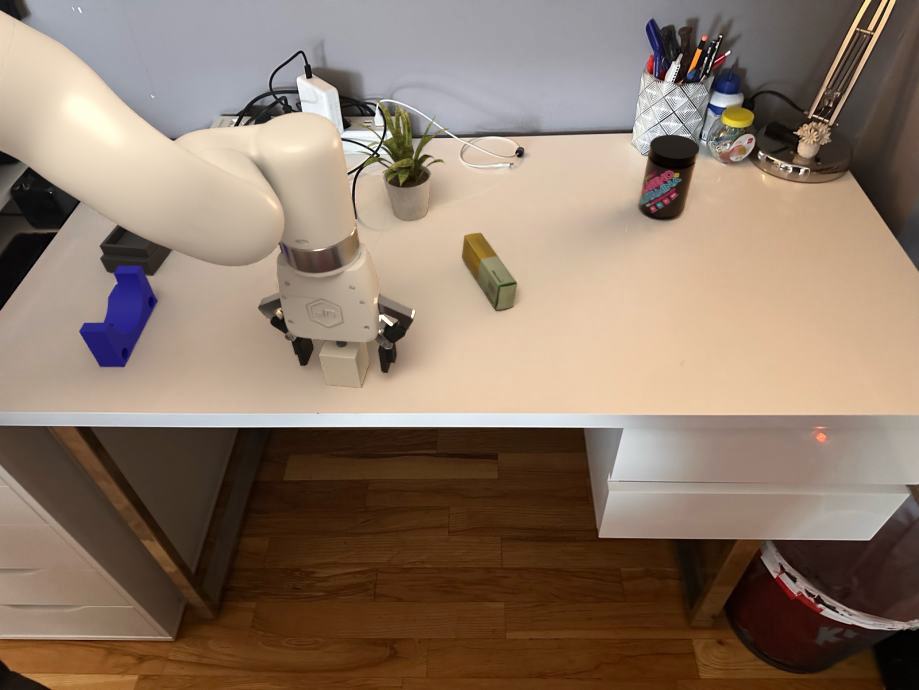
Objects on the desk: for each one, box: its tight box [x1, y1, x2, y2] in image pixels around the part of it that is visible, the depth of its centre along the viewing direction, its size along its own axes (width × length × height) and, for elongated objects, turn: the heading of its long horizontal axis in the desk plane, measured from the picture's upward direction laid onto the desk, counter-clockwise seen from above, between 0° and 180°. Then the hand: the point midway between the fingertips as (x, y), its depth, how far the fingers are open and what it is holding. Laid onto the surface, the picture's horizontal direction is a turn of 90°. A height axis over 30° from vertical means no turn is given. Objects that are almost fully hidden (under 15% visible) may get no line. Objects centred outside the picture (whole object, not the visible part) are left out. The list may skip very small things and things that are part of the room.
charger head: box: [318, 340, 370, 389], centre depth 78 cm, size 4×4×6 cm
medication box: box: [461, 232, 518, 312], centre depth 89 cm, size 12×3×4 cm, turn 22°
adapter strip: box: [99, 224, 173, 276], centre depth 98 cm, size 7×16×4 cm, turn 172°
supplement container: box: [638, 134, 700, 221], centre depth 98 cm, size 7×7×10 cm
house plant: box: [351, 98, 449, 222], centre depth 98 cm, size 14×14×16 cm
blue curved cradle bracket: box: [78, 266, 158, 368], centre depth 84 cm, size 12×4×6 cm, turn 179°
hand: (347, 360), depth 78 cm, fingers open, 9 cm apart
